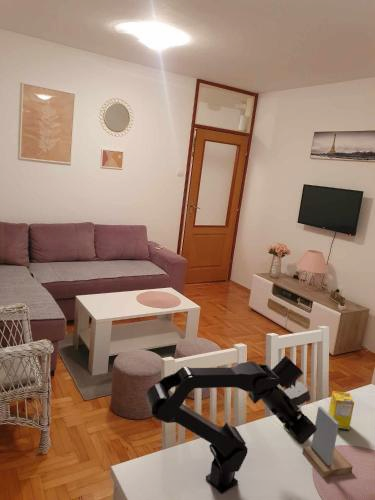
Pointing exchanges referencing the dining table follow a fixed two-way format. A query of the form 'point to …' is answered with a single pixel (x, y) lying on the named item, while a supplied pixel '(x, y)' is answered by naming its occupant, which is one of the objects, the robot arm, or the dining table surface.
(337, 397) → the supplement box
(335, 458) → the ticket block
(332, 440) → the grey rectangular panel
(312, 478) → the dining table surface
